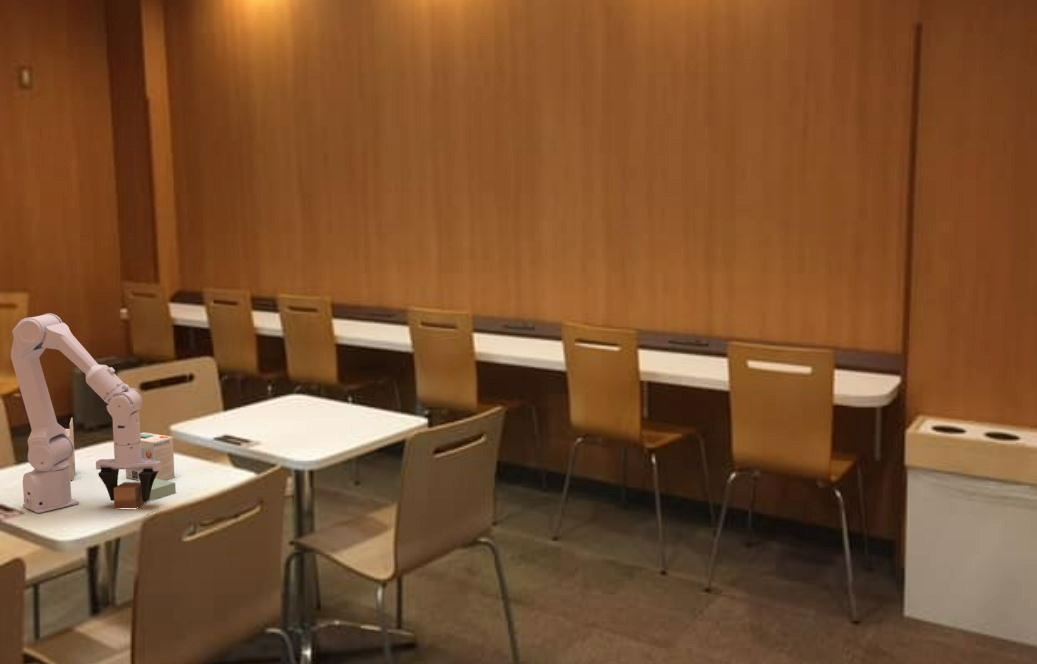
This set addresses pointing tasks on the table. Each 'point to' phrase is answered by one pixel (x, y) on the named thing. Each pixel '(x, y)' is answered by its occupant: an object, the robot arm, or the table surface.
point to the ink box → (72, 458)
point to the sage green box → (161, 489)
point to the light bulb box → (156, 455)
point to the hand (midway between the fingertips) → (130, 499)
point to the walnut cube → (128, 495)
